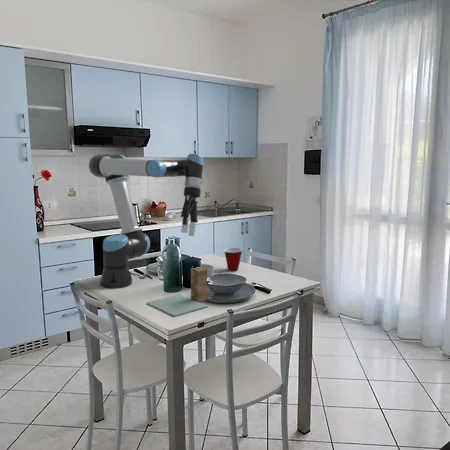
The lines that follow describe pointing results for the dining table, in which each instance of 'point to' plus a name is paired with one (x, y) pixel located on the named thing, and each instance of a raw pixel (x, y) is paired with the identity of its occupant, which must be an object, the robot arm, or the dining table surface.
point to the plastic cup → (233, 258)
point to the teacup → (208, 269)
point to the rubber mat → (177, 305)
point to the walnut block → (198, 284)
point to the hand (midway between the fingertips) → (188, 234)
